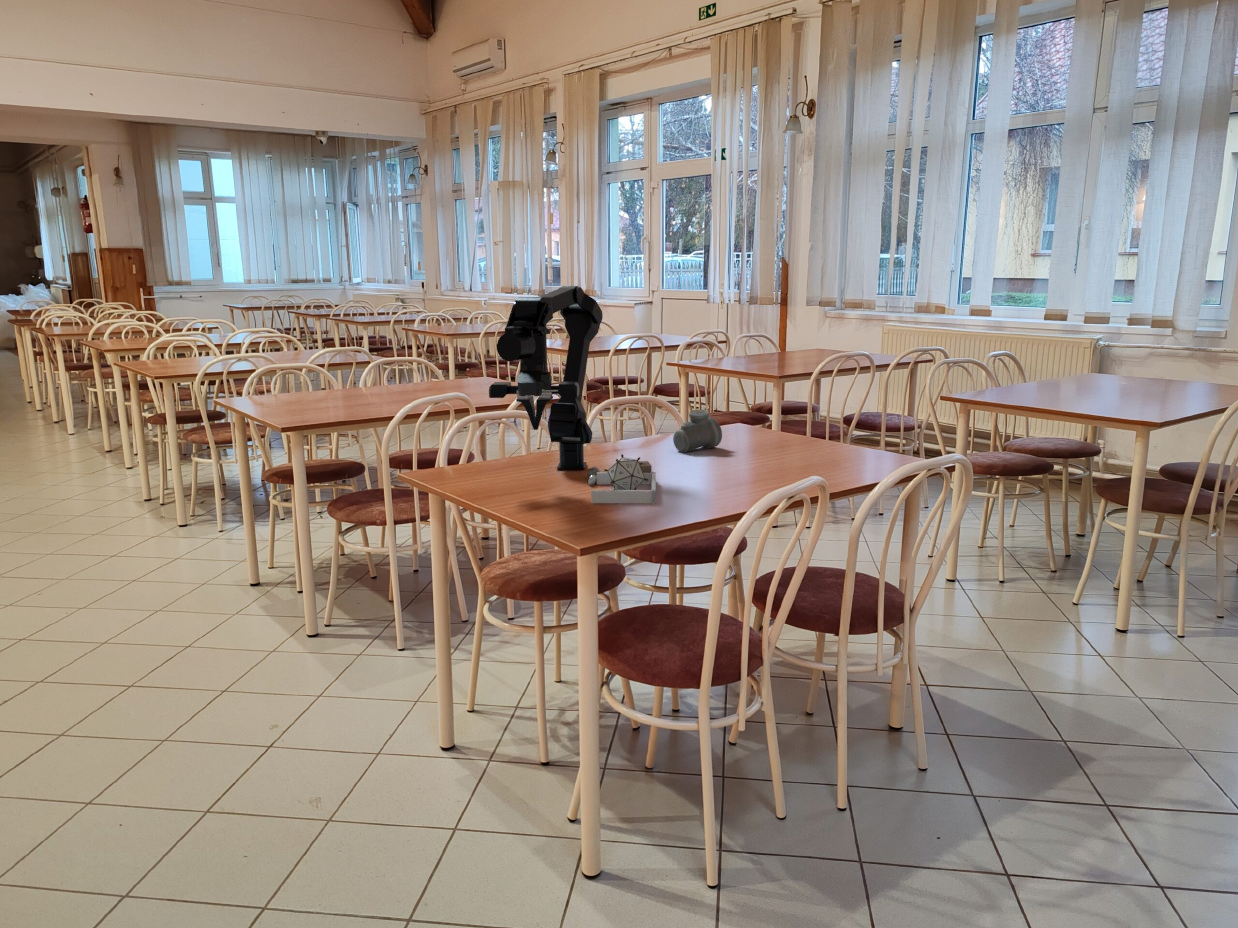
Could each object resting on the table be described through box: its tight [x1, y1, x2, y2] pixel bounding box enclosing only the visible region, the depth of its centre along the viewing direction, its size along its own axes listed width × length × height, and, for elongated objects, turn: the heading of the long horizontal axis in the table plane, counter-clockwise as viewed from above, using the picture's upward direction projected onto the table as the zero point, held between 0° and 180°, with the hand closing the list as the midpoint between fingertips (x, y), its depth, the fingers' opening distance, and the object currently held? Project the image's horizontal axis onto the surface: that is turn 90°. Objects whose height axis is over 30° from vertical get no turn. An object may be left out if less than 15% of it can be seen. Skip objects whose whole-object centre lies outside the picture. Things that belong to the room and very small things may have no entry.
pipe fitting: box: [672, 409, 723, 453], centre depth 224 cm, size 12×8×10 cm
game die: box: [603, 453, 649, 490], centre depth 180 cm, size 9×8×10 cm
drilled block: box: [638, 460, 653, 473], centre depth 191 cm, size 5×5×4 cm
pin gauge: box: [587, 466, 601, 487], centre depth 191 cm, size 8×2×2 cm, turn 178°
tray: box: [590, 471, 657, 504], centre depth 181 cm, size 17×13×2 cm
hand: (535, 429), depth 187 cm, fingers closed
